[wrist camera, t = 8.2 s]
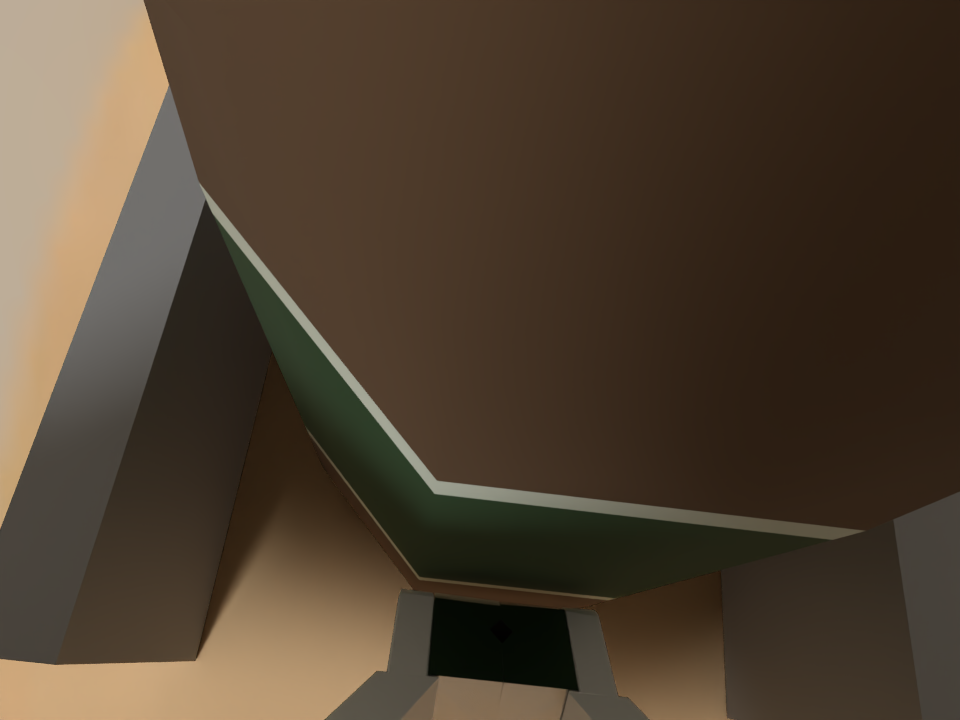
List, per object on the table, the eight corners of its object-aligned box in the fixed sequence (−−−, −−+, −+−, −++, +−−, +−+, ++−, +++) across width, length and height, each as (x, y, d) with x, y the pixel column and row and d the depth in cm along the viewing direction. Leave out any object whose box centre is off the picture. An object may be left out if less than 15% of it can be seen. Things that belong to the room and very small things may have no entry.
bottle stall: (748, 238, 19) (884, 72, 14) (782, 723, 14) (1015, 766, 9) (271, 169, 19) (214, -35, 13) (134, 654, 14) (-47, 653, 8)
